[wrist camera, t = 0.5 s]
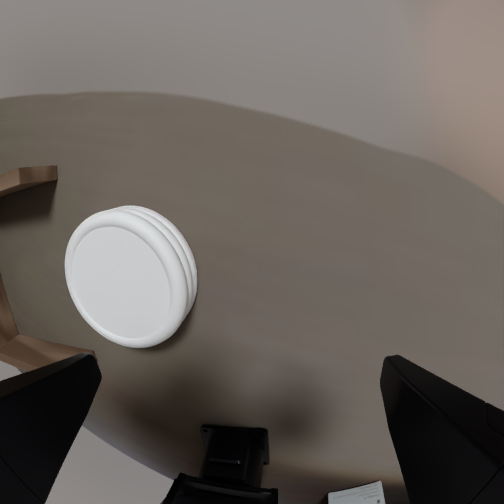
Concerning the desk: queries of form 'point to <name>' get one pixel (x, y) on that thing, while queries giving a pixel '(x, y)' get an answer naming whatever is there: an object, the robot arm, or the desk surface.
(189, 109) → the desk surface
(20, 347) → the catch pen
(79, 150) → the desk surface
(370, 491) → the supplement box
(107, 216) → the coaster
